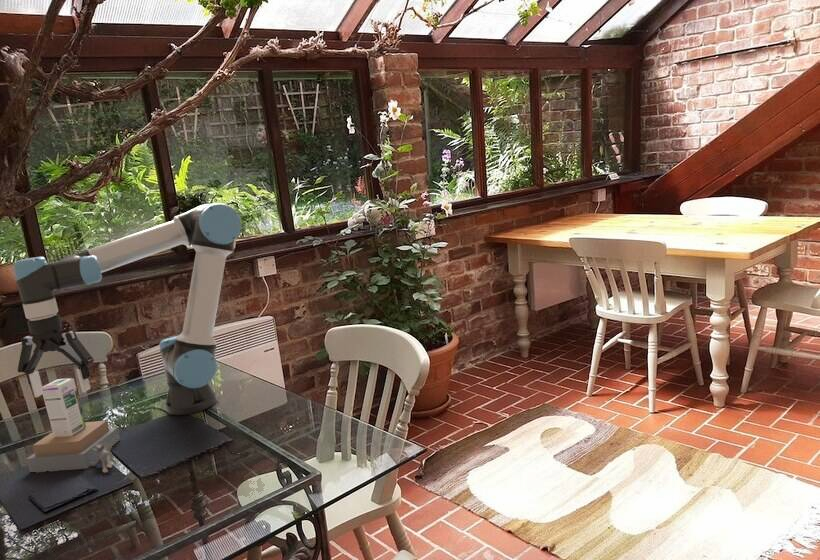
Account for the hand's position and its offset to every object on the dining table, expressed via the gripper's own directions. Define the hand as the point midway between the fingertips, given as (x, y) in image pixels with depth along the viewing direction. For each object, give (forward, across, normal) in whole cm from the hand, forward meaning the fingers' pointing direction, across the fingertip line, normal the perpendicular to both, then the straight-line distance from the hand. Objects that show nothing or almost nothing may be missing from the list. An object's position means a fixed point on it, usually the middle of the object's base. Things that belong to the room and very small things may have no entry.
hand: (62, 393), depth 167 cm
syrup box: (+11, +1, 0) cm, 11 cm away
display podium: (+18, 0, 0) cm, 18 cm away
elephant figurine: (+19, -13, +7) cm, 24 cm away
